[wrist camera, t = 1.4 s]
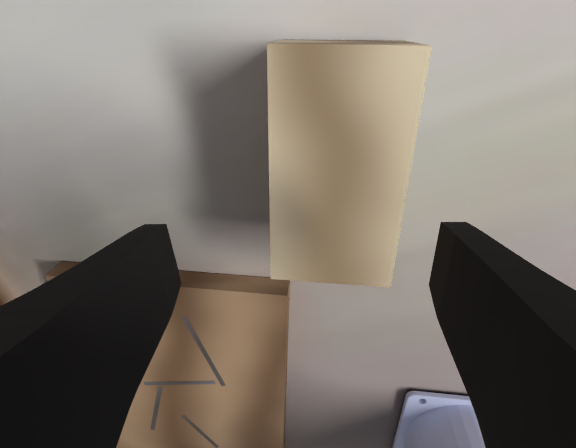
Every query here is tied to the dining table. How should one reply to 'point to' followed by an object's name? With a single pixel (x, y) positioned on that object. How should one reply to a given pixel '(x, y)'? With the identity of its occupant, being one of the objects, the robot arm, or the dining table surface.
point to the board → (215, 367)
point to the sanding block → (341, 155)
